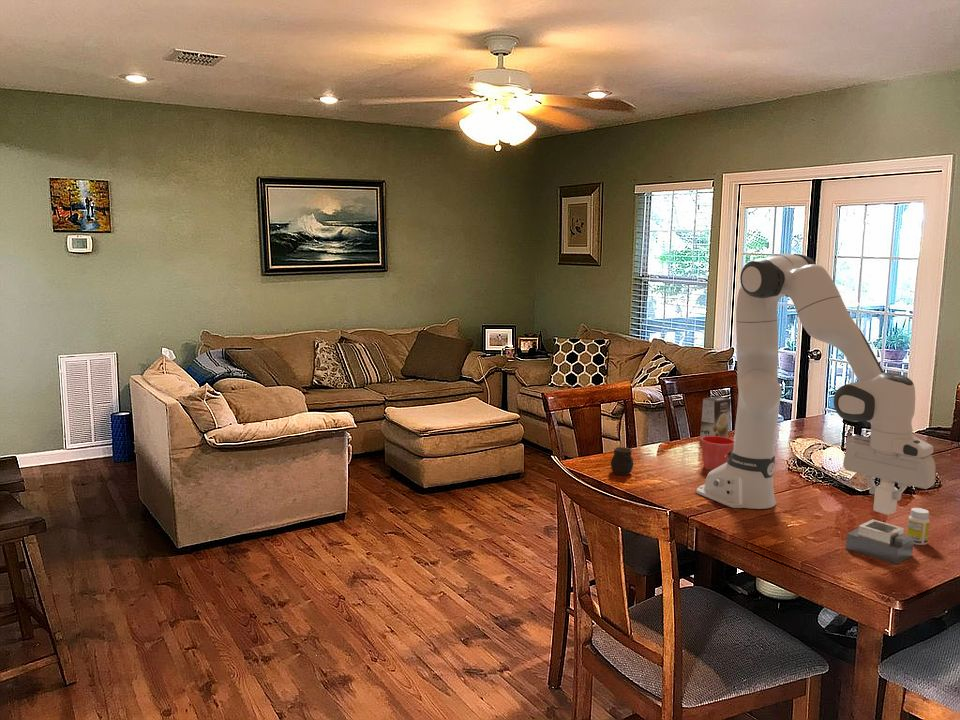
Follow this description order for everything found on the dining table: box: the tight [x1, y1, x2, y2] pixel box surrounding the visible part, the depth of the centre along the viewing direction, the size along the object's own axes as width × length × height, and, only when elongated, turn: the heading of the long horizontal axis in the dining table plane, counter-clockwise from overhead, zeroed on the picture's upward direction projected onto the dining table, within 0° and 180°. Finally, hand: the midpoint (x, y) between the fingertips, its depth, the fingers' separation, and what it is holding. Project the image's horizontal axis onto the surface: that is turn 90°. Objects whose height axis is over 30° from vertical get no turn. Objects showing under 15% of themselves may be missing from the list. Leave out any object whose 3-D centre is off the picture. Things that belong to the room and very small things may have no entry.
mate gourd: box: [610, 445, 635, 476], centre depth 251 cm, size 7×8×10 cm
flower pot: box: [700, 436, 734, 471], centre depth 259 cm, size 11×11×10 cm
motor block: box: [845, 519, 914, 566], centre depth 192 cm, size 12×9×6 cm
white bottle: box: [872, 478, 899, 516], centre depth 190 cm, size 4×4×10 cm
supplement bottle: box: [906, 507, 931, 546], centre depth 199 cm, size 5×5×8 cm
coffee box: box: [699, 396, 732, 441], centre depth 295 cm, size 9×6×16 cm
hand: (884, 496), depth 190 cm, fingers closed on white bottle, 4 cm apart
